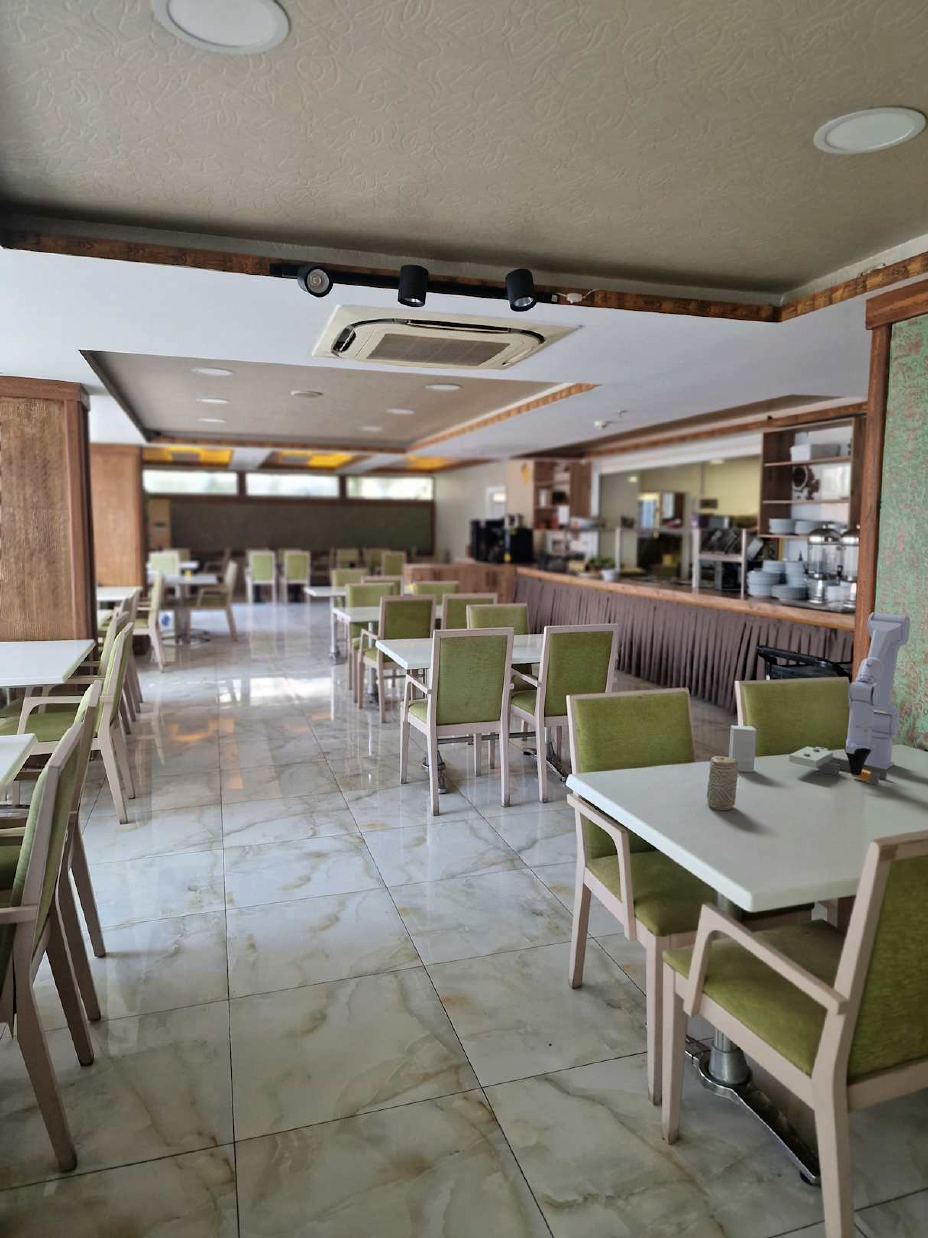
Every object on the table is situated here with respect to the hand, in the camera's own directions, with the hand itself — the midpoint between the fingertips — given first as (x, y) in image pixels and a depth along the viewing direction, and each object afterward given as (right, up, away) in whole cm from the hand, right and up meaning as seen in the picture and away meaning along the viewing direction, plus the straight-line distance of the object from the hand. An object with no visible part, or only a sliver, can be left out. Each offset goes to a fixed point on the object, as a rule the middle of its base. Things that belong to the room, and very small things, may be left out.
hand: (855, 774), depth 209 cm
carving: (-46, -3, -26) cm, 53 cm away
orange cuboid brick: (+2, -2, +1) cm, 3 cm away
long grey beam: (+1, -1, +3) cm, 3 cm away
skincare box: (-30, 0, +4) cm, 30 cm away
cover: (-10, 0, +4) cm, 11 cm away
